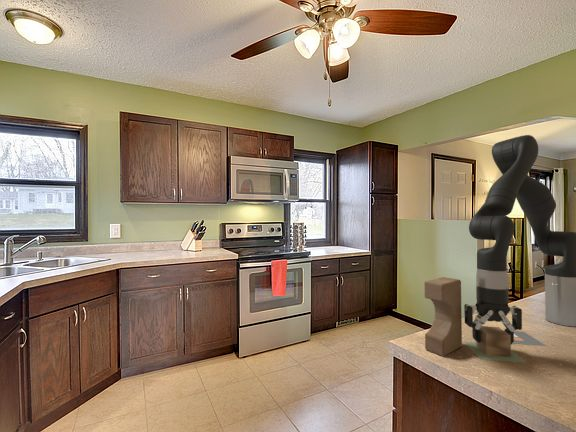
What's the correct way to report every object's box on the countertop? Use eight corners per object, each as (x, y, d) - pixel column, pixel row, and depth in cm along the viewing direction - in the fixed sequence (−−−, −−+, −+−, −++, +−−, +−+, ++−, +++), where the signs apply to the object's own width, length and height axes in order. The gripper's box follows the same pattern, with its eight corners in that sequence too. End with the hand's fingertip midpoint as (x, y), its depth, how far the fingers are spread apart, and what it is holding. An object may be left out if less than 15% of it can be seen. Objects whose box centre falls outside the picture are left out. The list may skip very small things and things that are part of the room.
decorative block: (443, 357, 78) (442, 284, 79) (423, 349, 83) (423, 281, 83) (463, 347, 84) (462, 279, 85) (443, 340, 89) (443, 276, 89)
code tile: (523, 332, 95) (523, 331, 95) (546, 346, 84) (546, 345, 84) (487, 329, 97) (487, 329, 97) (505, 343, 87) (505, 343, 87)
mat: (503, 344, 86) (503, 344, 86) (527, 363, 75) (527, 362, 75) (463, 342, 88) (463, 341, 88) (480, 359, 77) (480, 359, 77)
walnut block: (498, 347, 84) (498, 327, 84) (510, 357, 78) (510, 335, 78) (476, 345, 85) (476, 325, 85) (486, 355, 79) (486, 333, 79)
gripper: (512, 283, 84) (513, 338, 84) (459, 281, 87) (460, 335, 86) (528, 289, 77) (529, 350, 76) (470, 287, 79) (471, 346, 79)
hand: (492, 342), depth 81 cm, fingers open, 7 cm apart
